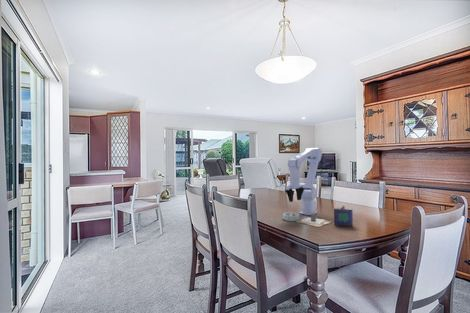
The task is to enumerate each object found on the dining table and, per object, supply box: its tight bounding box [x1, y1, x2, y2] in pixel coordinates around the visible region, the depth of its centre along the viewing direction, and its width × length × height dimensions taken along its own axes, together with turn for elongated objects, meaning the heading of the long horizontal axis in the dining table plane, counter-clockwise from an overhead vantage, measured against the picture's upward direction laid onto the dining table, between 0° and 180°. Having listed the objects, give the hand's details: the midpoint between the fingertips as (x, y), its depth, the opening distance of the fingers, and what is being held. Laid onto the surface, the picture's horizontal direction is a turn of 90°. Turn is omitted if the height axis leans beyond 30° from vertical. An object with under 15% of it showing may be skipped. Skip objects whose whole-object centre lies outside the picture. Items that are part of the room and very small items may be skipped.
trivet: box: [295, 216, 333, 228], centre depth 141 cm, size 14×14×1 cm
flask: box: [333, 205, 354, 227], centre depth 134 cm, size 9×3×11 cm, turn 74°
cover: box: [302, 213, 326, 225], centre depth 141 cm, size 10×10×4 cm
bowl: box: [282, 212, 300, 222], centre depth 149 cm, size 9×9×3 cm
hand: (295, 200), depth 151 cm, fingers open, 7 cm apart
